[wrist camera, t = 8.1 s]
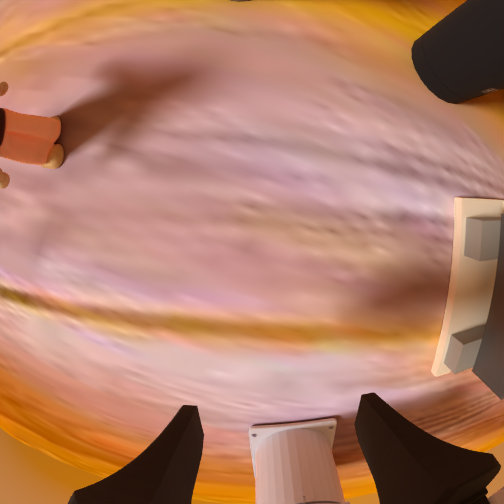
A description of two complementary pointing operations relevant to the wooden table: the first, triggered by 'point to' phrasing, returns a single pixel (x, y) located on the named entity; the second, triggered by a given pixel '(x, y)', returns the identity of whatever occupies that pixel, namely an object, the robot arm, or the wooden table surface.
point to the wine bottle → (463, 52)
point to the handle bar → (494, 332)
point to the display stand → (469, 283)
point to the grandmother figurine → (28, 139)
